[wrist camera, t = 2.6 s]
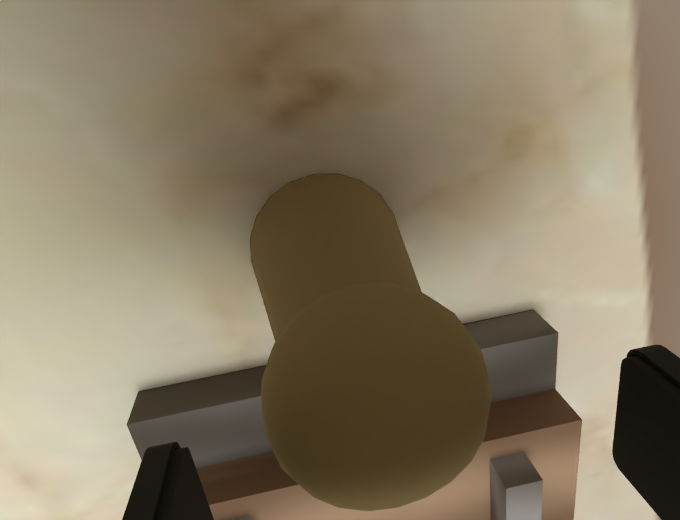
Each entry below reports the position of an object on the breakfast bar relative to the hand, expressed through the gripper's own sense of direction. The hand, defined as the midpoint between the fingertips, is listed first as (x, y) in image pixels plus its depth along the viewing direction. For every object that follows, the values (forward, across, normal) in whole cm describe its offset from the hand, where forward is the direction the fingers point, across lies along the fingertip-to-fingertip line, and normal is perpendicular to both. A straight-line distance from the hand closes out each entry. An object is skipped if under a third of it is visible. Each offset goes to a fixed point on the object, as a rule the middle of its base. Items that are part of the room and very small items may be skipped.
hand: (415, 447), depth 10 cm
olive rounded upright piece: (+11, +1, -1) cm, 11 cm away
